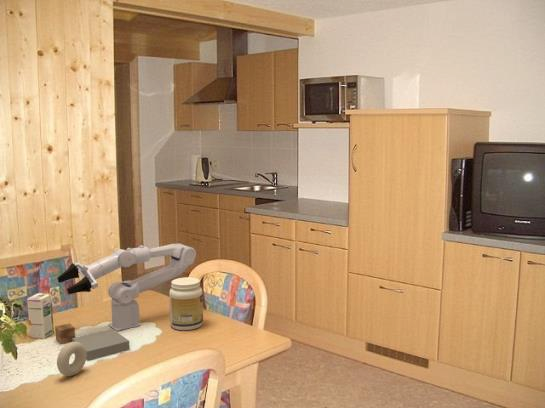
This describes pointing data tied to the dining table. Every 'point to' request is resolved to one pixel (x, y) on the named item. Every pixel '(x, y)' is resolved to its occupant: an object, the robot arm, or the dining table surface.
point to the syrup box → (40, 315)
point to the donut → (65, 356)
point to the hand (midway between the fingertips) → (62, 285)
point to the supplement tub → (186, 304)
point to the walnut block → (64, 333)
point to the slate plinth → (103, 343)
